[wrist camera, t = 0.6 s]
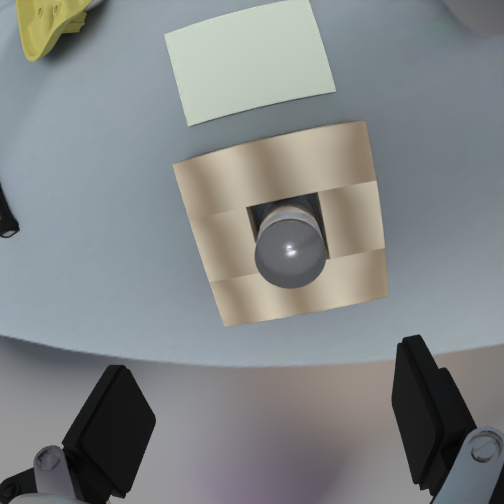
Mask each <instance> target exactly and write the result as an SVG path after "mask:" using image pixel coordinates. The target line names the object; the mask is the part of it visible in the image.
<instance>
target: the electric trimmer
mask: <svg viewBox="0 0 504 504" xmlns="http://www.w3.org/2000/svg"><path fill="white" fill-rule="evenodd" d="M18 226H19V224H18V223H17V222H15V221H13V219H12V217H11V215H10V212H9V210H8V208H7V205H6V203H5V200H4V198H3V195H2V193H1V190H0V237H3V238H9V237H11V236H13V235H14V234H16V233H17V232H18V231H19V228H18Z"/></svg>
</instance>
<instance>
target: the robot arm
mask: <svg viewBox="0 0 504 504" xmlns="http://www.w3.org/2000/svg"><path fill="white" fill-rule="evenodd" d="M392 407H393V410H394V413H395V417H396V420H397V424H398V427H399V431H400V434H401V438H402V441H403V445H404V449H405V452H406V456H407V460H408V464H409V468H410V472H411V476H412V480H413V483H414V484H419V486H420V490H425V489H428V488H429V491H430V495H432V496H433V498H432V500H431V502H430V503H429V504H504V433H502V432H501V431H500V430H499V429H496V428H494V427H488V426H485V427H479V428H477V426H476V425H475V422H474V420H473V418H472V416H471V414H470V412H469V410H468V408H467V406H466V403H465V402H464V400H463V398H462V396H461V394H460V392H459V390H458V388H457V386H456V384H455V382H454V380H453V378H452V376H451V374H450V373H449V371H448V370H447V369H446V368H445V367H444V368H440V369H438V366H437V365H436V363H435V361H434V359H433V357H432V355H431V353H430V351H429V349H428V348H427V346H426V344H425V342H424V340H423V338H422V337H421V335H419V334H418V335H414V336H409V337H404V338H403V340H402V343H398V345H397V354H396V364H395V374H394V382H393V390H392ZM155 423H156V418H155V415H154V413H153V411H152V410H151V408H150V406H149V404H148V403H147V401H146V399H145V397H144V396H143V394H142V392H141V390H140V388H139V387H138V385H137V383H136V381H135V379H134V377H133V375H132V373H131V371H130V370H129V369H127V368H126V367H125V366H124V365H109V366H108V367H107V369H106V370H105V372H104V373H103V375H102V376H101V378H100V379H99V381H98V383H97V384H96V386H95V387H94V389H93V391H92V393H91V394H90V396H89V397H88V399H87V400H86V402H85V404H84V406H83V407H82V409H81V410H80V412H79V414H78V416H77V417H76V419H75V421H74V422H73V424H72V425H71V427H70V429H69V431H68V432H67V434H66V436H65V438H64V439H63V441H62V444H63V445H64V448H63V449H61V448H60V447H58V446H56V445H51V446H46V447H44V448H42V449H41V450H40V451H39V452H38V453H37V454H36V456H35V458H34V467H33V468H31V469H28V470H26V471H24V472H21V473H19V474H17V475H14V476H12V477H9V478H7V479H5V480H4V481H3V482H2V483H1V484H0V504H111V502H110V500H109V497H110V495H112V496H115V497H119V498H123V499H124V498H125V496H126V493H128V492H129V491H130V490H131V488H132V485H133V482H134V480H135V477H136V474H137V471H138V469H139V466H140V463H141V461H142V458H143V455H144V453H145V450H146V448H147V445H148V442H149V440H150V437H151V434H152V432H153V429H154V427H155Z"/></svg>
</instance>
